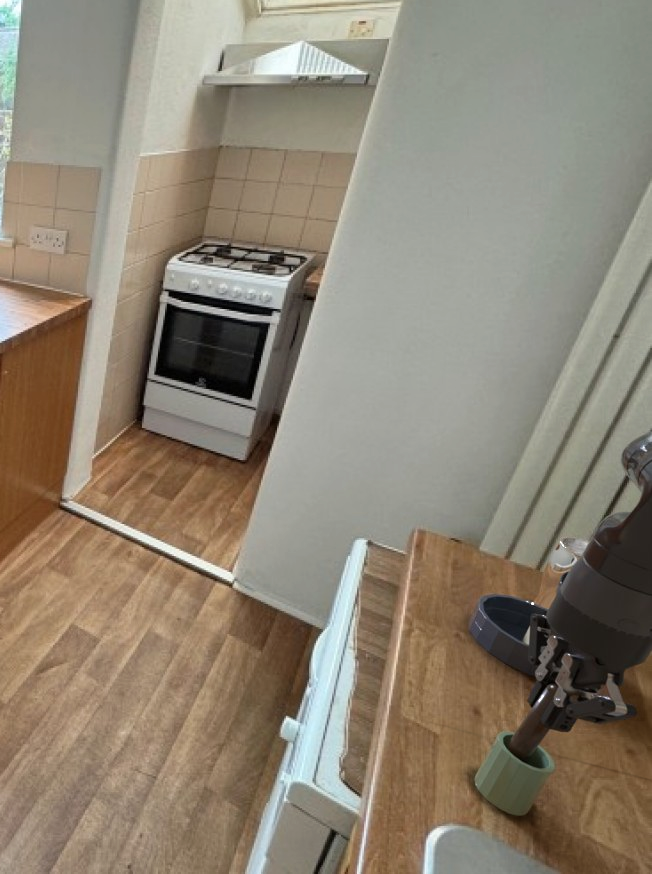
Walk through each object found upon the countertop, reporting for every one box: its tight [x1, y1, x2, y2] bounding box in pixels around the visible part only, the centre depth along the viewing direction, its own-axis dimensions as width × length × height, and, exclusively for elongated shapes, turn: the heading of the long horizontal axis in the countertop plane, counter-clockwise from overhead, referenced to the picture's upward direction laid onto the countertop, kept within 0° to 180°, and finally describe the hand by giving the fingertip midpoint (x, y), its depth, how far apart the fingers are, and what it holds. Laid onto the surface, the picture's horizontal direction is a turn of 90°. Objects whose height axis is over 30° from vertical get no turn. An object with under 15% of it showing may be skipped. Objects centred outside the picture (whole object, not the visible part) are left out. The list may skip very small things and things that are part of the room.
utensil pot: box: [474, 730, 556, 817], centre depth 74 cm, size 5×5×9 cm
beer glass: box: [531, 536, 590, 609], centre depth 99 cm, size 7×7×15 cm
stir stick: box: [506, 683, 572, 763], centre depth 72 cm, size 2×2×19 cm
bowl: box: [467, 593, 548, 677], centre depth 95 cm, size 13×13×6 cm
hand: (545, 716), depth 70 cm, fingers closed on stir stick, 2 cm apart
